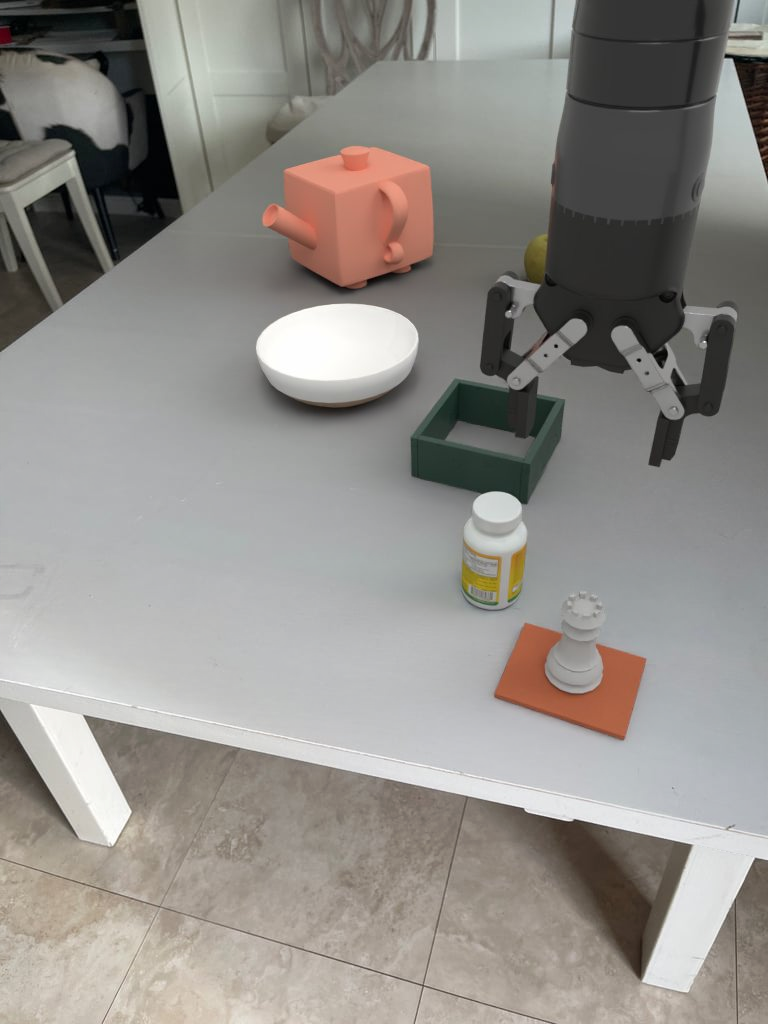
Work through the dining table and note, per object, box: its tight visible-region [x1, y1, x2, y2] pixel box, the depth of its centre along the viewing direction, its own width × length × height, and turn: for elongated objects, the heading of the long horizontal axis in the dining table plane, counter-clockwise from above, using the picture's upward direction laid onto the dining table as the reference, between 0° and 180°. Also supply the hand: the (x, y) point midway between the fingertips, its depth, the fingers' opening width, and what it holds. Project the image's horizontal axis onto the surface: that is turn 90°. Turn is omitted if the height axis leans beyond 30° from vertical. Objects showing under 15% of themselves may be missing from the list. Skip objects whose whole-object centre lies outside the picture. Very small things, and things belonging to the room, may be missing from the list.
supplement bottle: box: [460, 492, 528, 611], centre depth 68 cm, size 5×5×10 cm
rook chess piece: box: [545, 590, 607, 694], centre depth 61 cm, size 4×4×8 cm
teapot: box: [262, 145, 435, 290], centre depth 120 cm, size 25×23×18 cm
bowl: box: [255, 303, 420, 408], centre depth 98 cm, size 20×20×6 cm
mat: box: [493, 622, 647, 741], centre depth 63 cm, size 10×8×1 cm
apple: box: [523, 233, 548, 285], centre depth 117 cm, size 8×8×7 cm
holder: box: [409, 378, 566, 505], centre depth 85 cm, size 13×13×5 cm
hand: (588, 445), depth 52 cm, fingers open, 8 cm apart
